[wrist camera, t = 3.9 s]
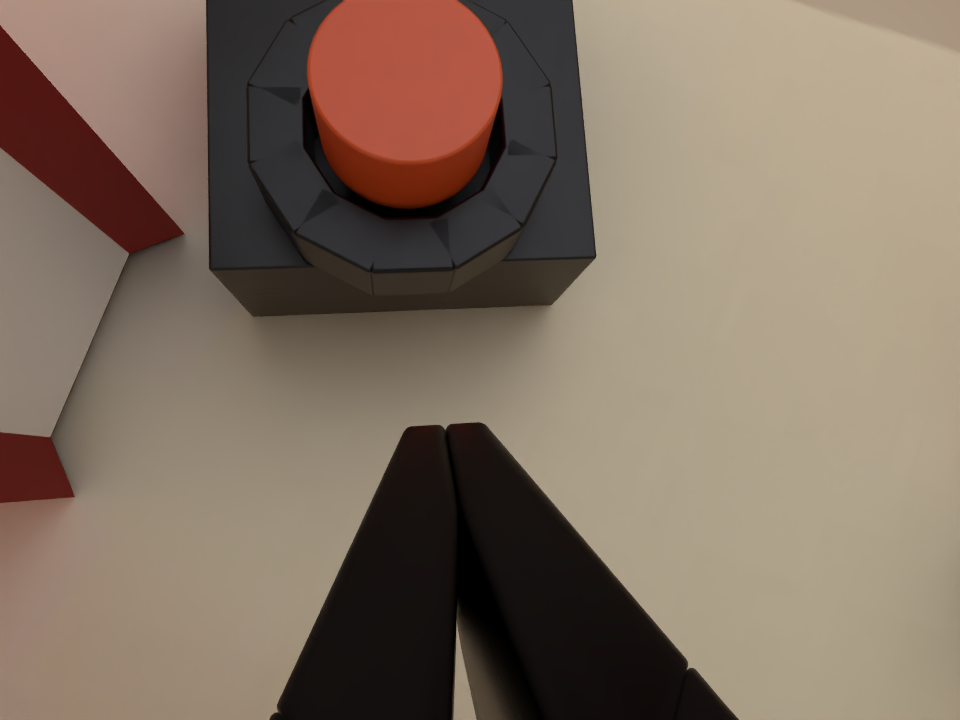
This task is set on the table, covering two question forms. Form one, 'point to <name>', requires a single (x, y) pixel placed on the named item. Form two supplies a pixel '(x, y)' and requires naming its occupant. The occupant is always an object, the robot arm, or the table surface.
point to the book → (54, 262)
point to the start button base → (376, 228)
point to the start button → (404, 97)
